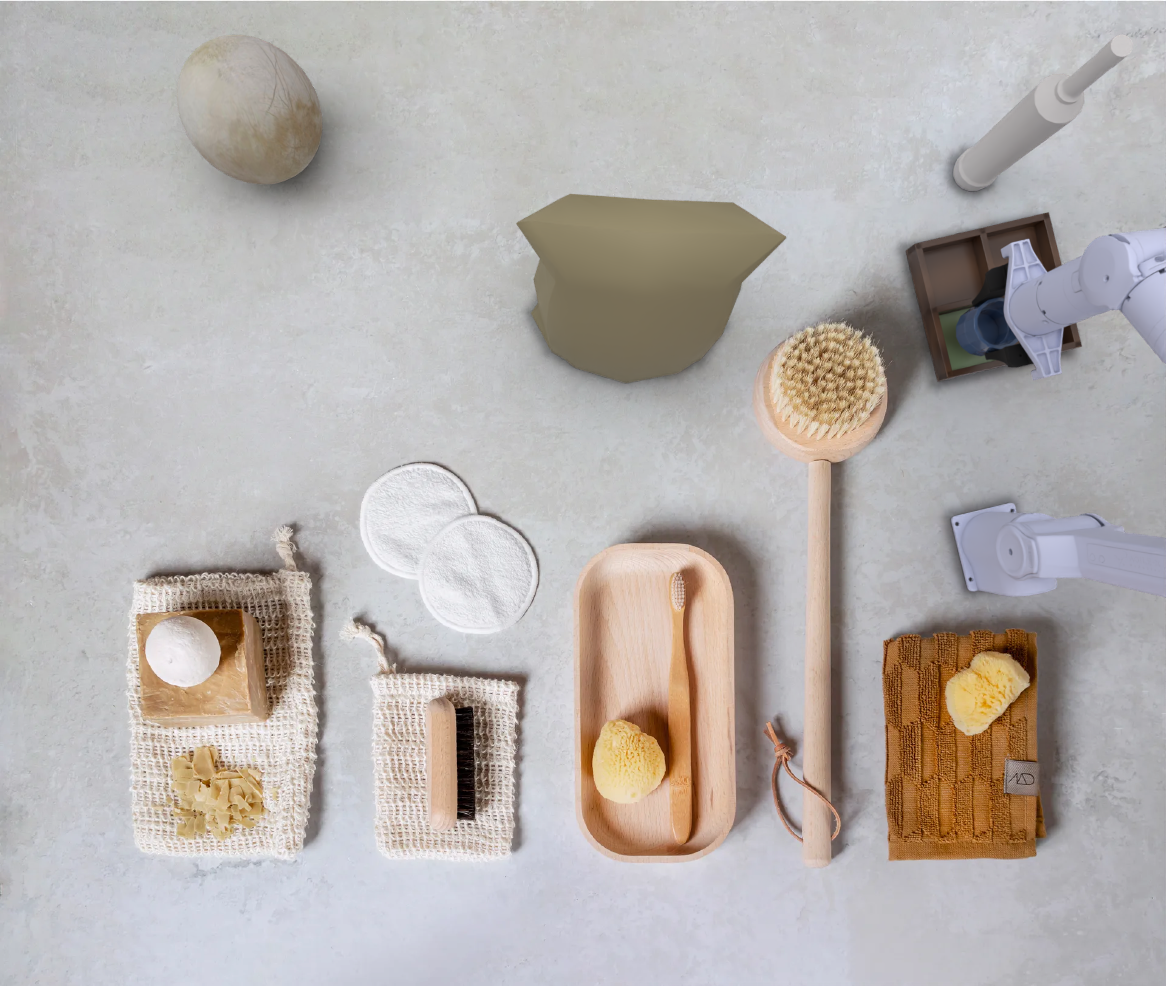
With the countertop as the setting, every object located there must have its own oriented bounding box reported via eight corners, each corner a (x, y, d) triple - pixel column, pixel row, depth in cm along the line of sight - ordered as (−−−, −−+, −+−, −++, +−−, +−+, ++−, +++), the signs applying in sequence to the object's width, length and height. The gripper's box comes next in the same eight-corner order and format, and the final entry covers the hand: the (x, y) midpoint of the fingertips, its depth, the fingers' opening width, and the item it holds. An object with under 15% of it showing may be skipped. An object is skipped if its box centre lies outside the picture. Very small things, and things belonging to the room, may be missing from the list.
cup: (1007, 350, 87) (1031, 342, 82) (959, 361, 87) (980, 354, 82) (995, 303, 87) (1018, 292, 82) (948, 314, 87) (968, 304, 82)
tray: (1083, 347, 90) (1258, 293, 67) (937, 381, 90) (1061, 339, 67) (1051, 216, 90) (1213, 117, 67) (905, 250, 90) (1017, 163, 67)
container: (727, 257, 90) (801, 133, 60) (720, 392, 90) (792, 336, 60) (534, 246, 90) (512, 118, 60) (527, 382, 90) (501, 321, 60)
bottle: (1000, 166, 90) (1161, 36, 65) (978, 200, 90) (1131, 84, 65) (965, 143, 90) (1112, 6, 65) (943, 178, 90) (1082, 54, 65)
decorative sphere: (266, 61, 90) (203, -28, 75) (364, 132, 90) (321, 57, 75) (194, 158, 90) (117, 89, 75) (292, 229, 90) (235, 174, 75)
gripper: (1122, 358, 71) (1034, 381, 85) (1086, 215, 71) (1005, 261, 85) (1052, 374, 71) (976, 395, 85) (1017, 231, 71) (947, 274, 85)
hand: (987, 329), depth 85 cm, fingers closed on cup, 6 cm apart
